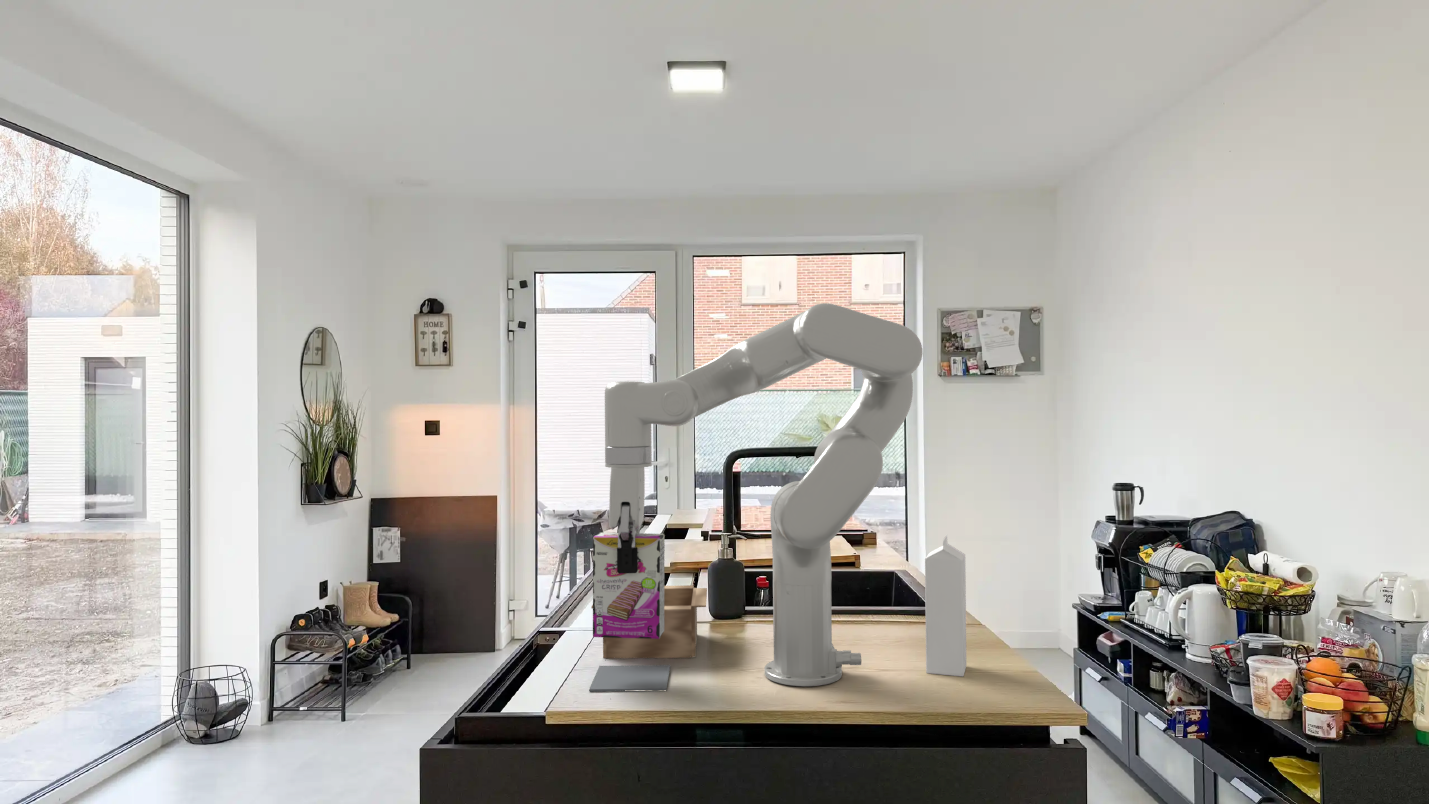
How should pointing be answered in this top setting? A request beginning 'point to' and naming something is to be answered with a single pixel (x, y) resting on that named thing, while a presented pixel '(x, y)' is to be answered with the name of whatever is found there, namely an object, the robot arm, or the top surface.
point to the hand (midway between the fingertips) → (629, 568)
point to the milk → (945, 611)
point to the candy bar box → (628, 589)
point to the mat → (630, 678)
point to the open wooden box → (665, 629)
